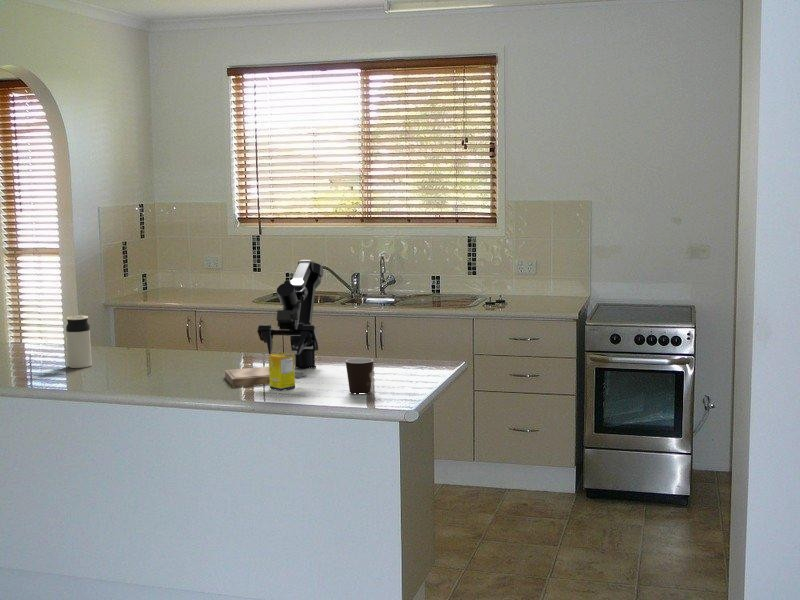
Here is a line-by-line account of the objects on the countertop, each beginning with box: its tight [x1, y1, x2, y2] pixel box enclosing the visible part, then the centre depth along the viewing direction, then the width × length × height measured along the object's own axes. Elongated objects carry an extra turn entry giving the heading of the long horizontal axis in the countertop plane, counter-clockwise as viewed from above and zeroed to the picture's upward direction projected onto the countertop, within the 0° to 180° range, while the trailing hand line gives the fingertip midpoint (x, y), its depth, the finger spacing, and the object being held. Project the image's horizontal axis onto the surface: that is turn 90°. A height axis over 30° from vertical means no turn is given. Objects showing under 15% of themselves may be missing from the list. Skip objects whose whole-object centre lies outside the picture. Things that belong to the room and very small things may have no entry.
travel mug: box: [65, 315, 93, 369], centre depth 343 cm, size 8×8×18 cm
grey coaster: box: [295, 371, 305, 379], centre depth 321 cm, size 9×9×1 cm
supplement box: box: [268, 352, 296, 392], centre depth 303 cm, size 6×6×11 cm
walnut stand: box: [224, 366, 270, 388], centre depth 316 cm, size 16×16×3 cm
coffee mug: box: [345, 357, 374, 395], centre depth 297 cm, size 12×9×10 cm
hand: (283, 354), depth 305 cm, fingers open, 9 cm apart
